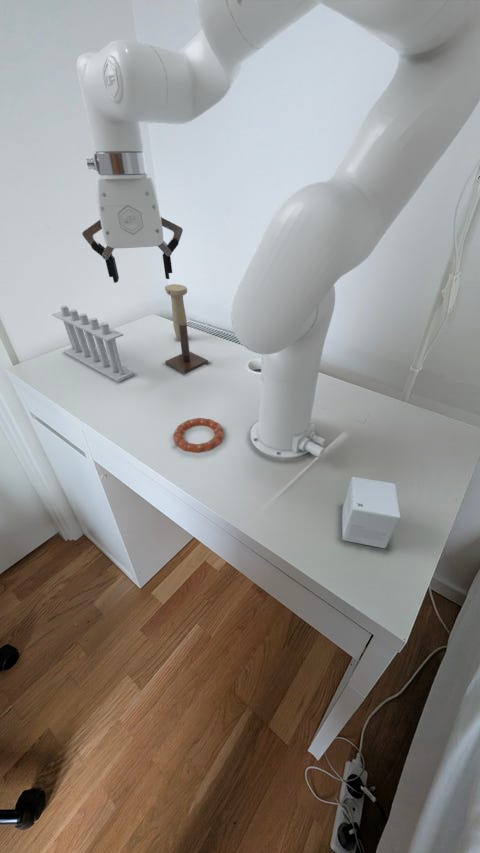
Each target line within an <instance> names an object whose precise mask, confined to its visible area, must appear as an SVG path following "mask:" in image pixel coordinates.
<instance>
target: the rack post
mask: <svg viewBox="0 0 480 853" xmlns="http://www.w3.org/2000/svg"><path fill="white" fill-rule="evenodd" d="M178 326H179V334H180V341H179V343H180V349H181V350H180V351H181V353H179V354H178V355H176V356H174V357H171V358H169V359H167V360H165V362H164V363H165V365H166V366H168V367H170V368H172V369H174V370H175V371H177V372H179V373H181V374H183V375H186V374H189V373H191V372H193V371H195V370H197V369H199V368H201V367H204V366H206V365H208V364H209V360H208V359H206V358H204V357H203V356H200V355H198V354H196V353H194V352H192V351H190V344H189V335H188V323H187V324H186V323H185V322H181V323H179V324H178Z"/></svg>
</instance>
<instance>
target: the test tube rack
mask: <svg viewBox="0 0 480 853" xmlns="http://www.w3.org/2000/svg"><path fill="white" fill-rule="evenodd" d="M51 316H52V317H54V318H56V319H59V320H61V321H62V322H63V324H64V328H65V330H66V333H67V336H68V340H69V342H70V345H71V346H70V347H69V348H67V349H64V353H65V354H66V355H68V356H70V357H72V358H73V359H75V360H77V361H79V362H80V363H83V364H84V365H86V366H88V367H90V368H92V369H94V370H95V371H97V372H99V373H100V374H102V375H105V376H106V377H108V378H110V379H111V380H113V381H115V382H116V383H120V382H123V381H124V380H126V379H129V378H131V377H133V376H134V372H133V371H130V370H129V369H127V368H125V367H123V366H122V362H121V357H120V354H119V351H118V346H117V342H116V339H118V338H121V337H123V336H124V335H125V334H124V333H123V332H121V331H118V330H116V329H113V328H111V327H110V325H109V323H108V321H107V322H106V321H104V322H99V320H98V319H97V318H96V317H91V318H89V316H88V315H87V313H80V314H79V312H78V310H77V309H70V310H69V307H68V305H61V306H60V311H58V312H55V313H52V314H51Z"/></svg>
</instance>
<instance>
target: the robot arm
mask: <svg viewBox="0 0 480 853" xmlns="http://www.w3.org/2000/svg"><path fill="white" fill-rule="evenodd" d="M194 3H195V4H194V5H195V10H196V13H197V16H198V21H199V23H200V26H201V29H200V30H199V32H198V33H196V35H195V36H194V37H193V38H191V39H190V40H189V41H188V42H187V43H186V44H184V46H182V47H181V48H180V49H179V50H177V51H172V50H168V49H167V48H166V49H165V48H161V47H158V46H155V45H150V44H147V43H141V42H137V41H134V40H130V39H123V38H122V39H120V38H119V39H115V40H113V41H111V42H109V43H108V44H106V45H105V46H104V47H103V48H102V49H101V50H99V51H90V52H89V51H88V52H85V53H82V54H81V55H79V57H78V58H77V61H76V72H77V73H76V74H77V78H78V82H79V87H80V91H81V92H80V93H81V96H82V102H83V107H84V110H85V116H86V120H87V123H88V129H89V134H90V139H91V143H92V147H93V152H94V153H93V156H92V157H90V158H86V165H87V168H88V170H93V171H96V172H97V173H98V175H99V178H94V179H95V180H94V184H95V186H94V187H95V196H96V203H97V209H98V215H99V219H98V220H97V221H95V222H94V223H92V224H91V225H90V226H88V227H87V228H85V229H83V231H82V233H81V235H82V237H83V238H84V239H85V241H86V242H87V243H88V244H89V245H90V247H91V249H92V250H93V251H94V252H96V253H97V254H98V255H99V256H101V257H102V259H103V260H105V265H106V269H107V273H108V277H109V278H112V281H113V283H114V284H116V283H118V282H119V279H120V277H119V271H118V268H117V262H116V258H115V256H114V255H113V252H114V250H115V249H135V248H137V249H138V248H153V247H157V248H158V249H160V250H161V252H162V261H163V268H164V275H165V279H166V280H170V274H173V266H172V258H171V256H172V254H173V252H174V251H175V250H176V248H177V247H178V246H179V244H180V240H181V237H182V235H183V231H184V230H183V227H182V226H181V225H179V224H177V223H175V222H174V221H171V220H170V219H167V218H165V217H163V216H161V211H160V210H161V209H160V205H159V200H158V195H157V191H156V186H155V184H154V180H153V177H151V176H150V177H149V176H148V172H147V166H146V159H145V152H144V144H143V138H142V131H141V125H140V124H141V123H146V124H147V123H148V124H154V123H155V124H164V125H165V124H166V125H175V126H176V125H177V126H178V125H184V124H185V125H186V124H188V123H190V122H192V121H194V120H196V119H197V118H199V117H200V116H202V115H203V114H204V113H206V112H207V111H209V110H210V109H212V108H213V107H214V106H217V105H218V104H219V103H220V102H221V101H222V100H223V99H225V97H226V96H227V95H228V93H229V91H230V90H231V89H232V87H233V85H234V83H235V81H236V79H237V78H238V76H239V73H240V71H241V67H242V64H243V63H245V62H246V61H247V60H248V59H249V58H250V57H252V56H254V55H255V54H256V53H257V52H259V51H260V50H261V49H262V48H263V47H264V46H266V45H267V44H269V43H270V42H271V41H272V40H274V39H275V38H276V37H278V36H279V35H280V34H282V33H283V32H284V31H286V30H287V29H288V28H289V27H291V26H292V25H294V24H296V23H297V22H298V21H299V20H301V19H302V18H304V16H306V15H307V14H309V13H310V12H311V11H313V10H314V9H315V8H316V7H317V6H319V5H323V6H325V7H326V8H329V9H330V10H332V11H334V12H336V13H338V14H339V15H341V16H342V17H344V18H346V19H348V20H349V21H351V22H353V23H354V24H356V25H357V26H359V27H360V28H362V29H364V30H365V31H366V32H369V33H370V34H371V35H373V36H375V37H376V38H377V39H378V40H380V41H381V42H383V43H384V44H385V45H388V46H389V47H390V48H393V49H394V50H395V51H396V53H397V56H398V63H397V67H396V69H395V72H394V74H393V76H392V79H391V80H390V81H389V83H388V84H387V86H386V88H385V89H384V90H383V92H382V93H381V95H380V96H379V97H378V99H377V100H376V101H375V103H374V104H373V105H372V107H371V108H370V109H369V111H368V112H367V114H366V116H365V117H364V118H363V121H362V122H361V124H360V126H359V127H358V130H357V132H356V134H355V136H354V138H353V139H352V142H351V143H350V145H349V146H348V148H347V150H346V151H345V153H344V155H343V157H342V159H341V160H340V161H339V163H338V165H337V166H336V167H335V170H334V171H333V172H332V174H331V175H330V176H329V178H328V179H327V180H325V181H324V180H323V181H318V182H313V183H310V184H307V185H305V186H302V187H301V188H299V189H297V190H296V191H294V192H293V193H292V194H290V195H289V196H288V197H287V198H286V199H285V200H284V201H283V202H282V204H281V205H280V206H279V207H278V209H276V211H275V212H274V213H273V216H272V217H271V219H270V220H269V222H268V224H267V226H266V228H265V230H264V232H263V234H262V235H261V238H260V240H259V243H258V244H257V247H256V249H255V250H254V253H253V255H252V257H251V259H250V261H249V263H248V266H247V267H246V270H245V271H244V274H243V276H242V278H241V281H240V282H239V284H238V286H237V289H236V291H235V293H234V297H233V300H232V303H231V310H230V311H231V312H230V315H231V316H230V318H231V319H230V320H231V326H232V329H233V332H234V334H235V337H236V339H237V340H238V342H239V343H240V344H241V345H242V346H243V347H244V348H245V349H247V350H248V351H250V352H252V353H254V354H259V355H261V363H260V364H261V366H260V383H259V384H260V385H259V405H258V406H259V409H258V410H259V411H258V420H257V421H256V422H255V423H254V424H253V425H252V427H251V429H250V433H249V436H250V441H251V443H252V444H253V445H254V447H255V448H257V450H258V451H260V452H261V453H263V454H265V455H268V456H270V457H274V458H278V459H294V458H299V457H301V456H304V455H306V454H308V453H310V455H312V456H314V457H316V458H318V459H321V458H322V457H323V456H324V454H325V452H326V448H325V447H324V446H325V445H326V442H327V440H326V439H325V438H323V437H321V436H318V435H317V434H316V432H315V429H316V424H315V423H312V422H311V421H312V415H313V408H314V403H315V395H316V392H317V391H316V390H317V385H318V378H319V373H320V367H321V361H322V356H323V352H324V346H325V343H326V338H327V335H328V332H329V328H330V325H331V322H332V318H333V314H334V311H335V310H334V309H335V305H336V288H335V285H336V283H337V282H338V281H339V280H340V279H341V278H342V277H343V276H344V275H347V274H348V273H349V272H351V271H352V270H354V269H355V268H358V266H360V265H361V264H362V263H364V262H365V260H367V259H368V258H369V257H370V255H371V254H372V253H373V251H374V250H375V249H376V248H377V246H378V244H379V242H380V241H381V240H382V238H384V236H385V234H386V233H387V231H388V230H389V228H390V227H391V226H392V224H393V223H394V222H395V221H396V219H397V218H398V217H399V215H400V214H401V213H402V211H403V210H404V209H405V207H407V205H408V204H409V202H410V201H411V199H412V198H413V196H414V195H415V194H416V193H417V191H418V190H419V188H420V187H421V186H422V185H423V183H424V181H425V179H426V178H427V177H428V176H429V174H430V173H431V172H432V170H433V169H434V167H435V166H436V165H437V164H438V162H439V160H440V159H442V156H443V155H444V154H445V153H446V151H447V150H448V149H449V147H450V146H451V144H452V143H453V142H454V140H455V139H456V137H457V136H458V135H459V133H460V132H461V131H462V129H463V128H464V126H465V125H466V123H467V122H468V121H469V119H470V117H471V115H473V113H474V111H475V109H476V108H477V106H478V104H479V102H480V0H194ZM164 228H165V229H167V230H169V231H171V232H173V233H172V234H173V235H172V238H171V239H170V240H169V242H168V243H167V242H166V241H165V240H164ZM100 231H102V235H103V240H104V242H105V245H106V246H104V245H102V244H101V243H100V242H98V241H97V239H96V238H95V234H97V233H98V232H100Z"/></svg>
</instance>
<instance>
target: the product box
mask: <svg viewBox="0 0 480 853" xmlns="http://www.w3.org/2000/svg"><path fill="white" fill-rule="evenodd" d="M341 511H342V512H341V514H342V515H341V524H342V525H341V526H342V527H341V529H342V530H341V533H342V541H345V542H351V543H355V544H360V545H365V546H369V547H370V546H371V547H375V548H381V549H387V546H388V544H389V542H390V540H391V539H392V536H393V533H394V532H395V529H396V528H397V525H398V523H399V521H400V520H401V510H400V503H399V497H398V490H397V485H396V483H393V482H387V481H382V480H375V479H369V478H362V477H356V476H352V477H351V479H350V482H349V486H348V489H347V492H346V495H345V500H344V503H343V505H342V510H341Z"/></svg>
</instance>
